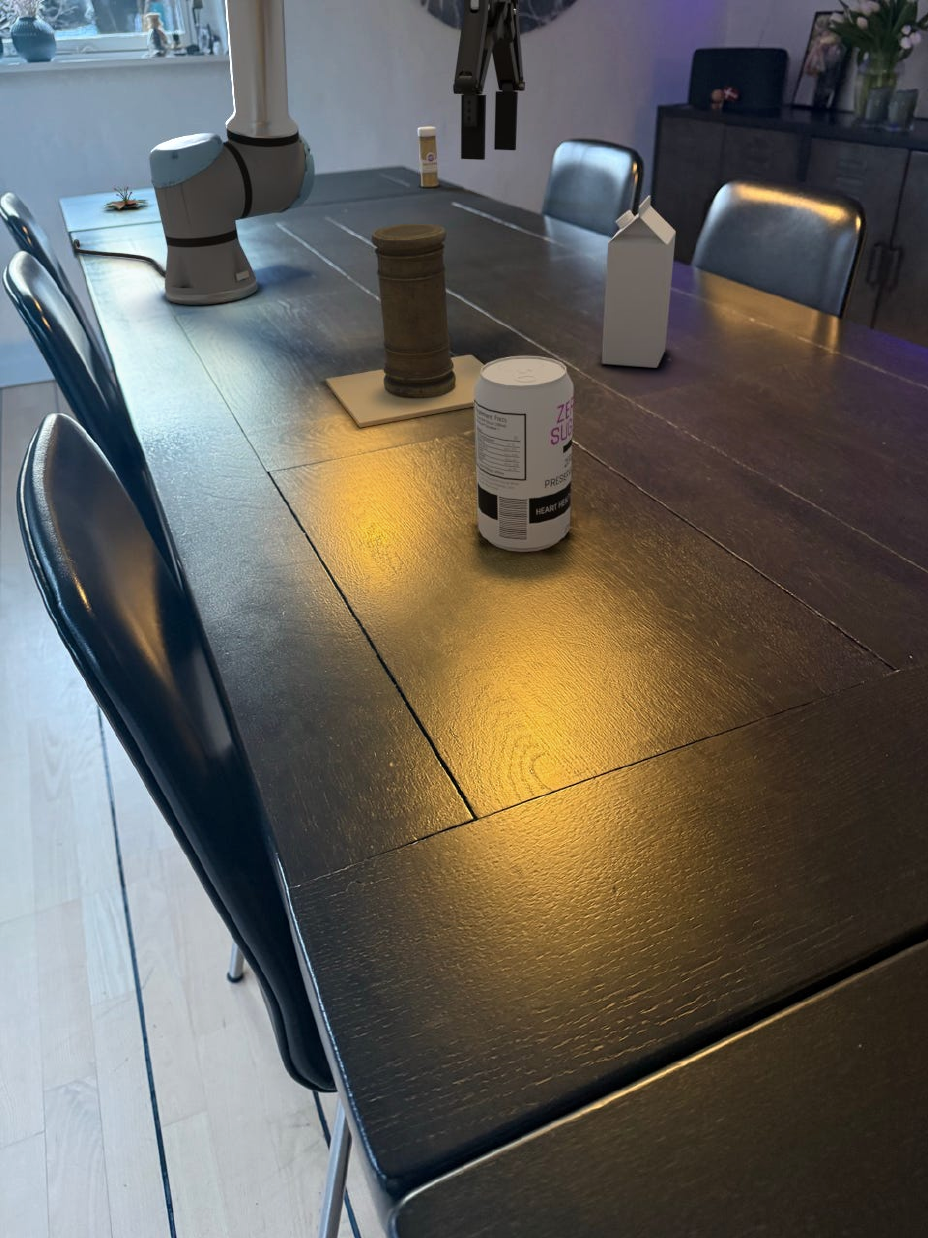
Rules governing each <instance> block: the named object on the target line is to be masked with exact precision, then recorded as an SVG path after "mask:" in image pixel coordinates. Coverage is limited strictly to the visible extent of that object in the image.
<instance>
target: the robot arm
mask: <svg viewBox="0 0 928 1238" xmlns="http://www.w3.org/2000/svg"><path fill="white" fill-rule="evenodd" d="M225 9H226V23H227V34H228V48H229V49H228V50H229V61H230V75H231V85H232V86H231V87H232V99H233V110H234V111H233V114H232V115H231V116H230V117H229V118H228V119H227V121H226V122H225V130H226V131H225V132H226V140H224V141H223V140H222V138H221V136H220V135H218V134H217V133H214V132H213V133H211V132H204V133H196V134H193V135H184V136H181V137H176V138H172V139H170V140H167V141H164V142H161V143H159V144H158V145H156V146H154V147H153V149H152V150H150V154H149V157H148V161H149V169H150V176H151V185H152V186H153V191H154V194H155V199H156V203H157V208H158V212H159V217H160V221H161V225H162V229H163V235H164V238H165V243H166V249H167V251H166V265H165V269H164V268H163V266H161V265H160V264H159V262H157V261H156V260H155V259H154V258H152V257H149V256H145V255H141V254H134V253H126V252H125V253H124V252H111V251H100V250H90V249H89V250H88V249H82V248H79V247H80V246H81V243H80V240H79V238H75V239H74V240H73V242H72V246H73V250H74V252H76V253H78V254H81V255H88V256H99V257H111V258H124V259H133V260H138V261H139V260H140V261H145V262H147V263H149V264H152V265H153V266H154V267H155V268H156V269H157V270H158V271H159V272H160V273H161V274H162V275H163V276H164V277H165V278H164V291H165V295H166V299H167V300H168V301H169V302H172V303H175V304H179V305H190V306H199V305H200V306H202V305H215V304H222V303H227V302H233V301H237V300H240V299H244V298H247V297H249V296H251V295H253V294H254V293H256V291H258V289H259V286H258V281H257V280H258V279H257V277H256V274H255V271H254V269H253V267H252V265H251V263H250V261H249V259H248V257H247V255H246V253H245V250H244V249H243V247H242V245H241V243H240V239H239V235H238V234H239V233H238V228H237V223H236V221H240V220H245V219H250V218H255V217H260V216H265V215H266V216H267V215H270V214H281V213H282V214H283V213H285V212H287V211H289V210H292V209H296V208H299V207H300V206H302V205H303V204H304V203H305V202H306V201H307V200H308V199H309V197H310V195H311V193H312V191H313V187H314V183H315V175H316V173H315V172H316V171H315V170H316V167H315V158H314V156H313V154H311V147H310V145H309V143H308V141H307V139H305V137H304V136H303V135H302V134H301V133H300V131H299V130H300V129H299V125H298V124H297V123H296V121H295V120H293V118H292V117H291V116H290V114H289V96H288V95H289V91H288V65H287V44H286V43H287V42H286V40H287V39H286V20H285V19H286V18H285V0H225ZM520 29H521V28H520V0H463V15H462V22H461V29H460V35H459V36H460V38H459V43H458V52H457V58H456V65H455V73H454V79H453V85H452V91H453V94H454V95H461V98H460V99H461V100H460V106H461V107H460V108H461V110H460V111H461V112H460V159H461V160H473V161H474V160H478V161H485V160H486V130H487V129H486V125H487V121H486V120H487V118H486V117H487V94H483V93H484V89H485V84H486V80H487V76H488V71H489V66H490V62H491V57H492V61H493V66H494V71H495V76H496V82H497V87H498V90H496V91H495V95H494V96H495V97H494V98H495V99H494V100H495V101H494V106H495V107H494V138H493V139H494V141H493V142H494V143H493V149H494V150H495V151H516V150H517V134H518V133H517V132H518V131H517V130H518V129H517V128H518V103H519V102H518V101H519V100H518V98H519V92H524V91H525V89H526V81H524V70H523V69H524V68H523V56H522V43H521V42H522V41H521V31H520Z"/></svg>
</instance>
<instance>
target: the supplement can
mask: <svg viewBox="0 0 928 1238" xmlns="http://www.w3.org/2000/svg"><path fill="white" fill-rule="evenodd" d="M574 387H575V386H574V382H573V381H572V379H571V377H570V375H569V373H568V370H567V366H566V365H565V364H564V363H563V362H561V361H559V360H556V359H554V358H551V357H545V356H540V355H514V356H507V357H501V358H497V359H494V360H492V361H489V362H487V363H485V364H484V366H483V367H482V368H481V372H480V376H479V378H478V380H477V382H476V384H475V386H474V391H473V398H474V407H473V419H474V420H473V421H474V424H473V425H474V445H475V446H474V448H475V473H476V474H475V476H476V477H475V478H476V497H477V498H476V499H477V502H476V503H477V526H478V529H477V530H478V531H479V532H480V534H481V537H483V538H485V539H486V540H488V542H489V543H490V544H492V545H493V546H495V547H496V548H499V549H502V550H505V551H508V552H519V553H528V552H529V553H530V552H538V551H541V550H545V549H549V548H551V547H552V546H554V545H555V544H557V543H559V542H560V541H561V539H563V538H565V536H566V535H567V533H568V532H570V530H571V500H572V499H571V496H572V495H571V493H572V465H573V464H572V463H573V460H572V459H573V458H572V457H573V456H572V455H573V428H574V427H573V426H574V425H573V424H574V423H573V422H574V392H575V391H574V390H575V389H574Z"/></svg>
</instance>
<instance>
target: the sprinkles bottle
mask: <svg viewBox="0 0 928 1238" xmlns="http://www.w3.org/2000/svg"><path fill="white" fill-rule="evenodd" d="M417 138H418V156H419V171H420V181H421V182H420V186H421V187H422V188H425V189H426V188H428V189H429V188H430V189H431V188H436V187H438V186H439V179H438V178H439V176H438V171H439V169H438V153H437V151H438V149H437V141H436V140H437V139H436V138H437V127H436V126H432V125H431V126H419V127H418V128H417Z"/></svg>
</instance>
